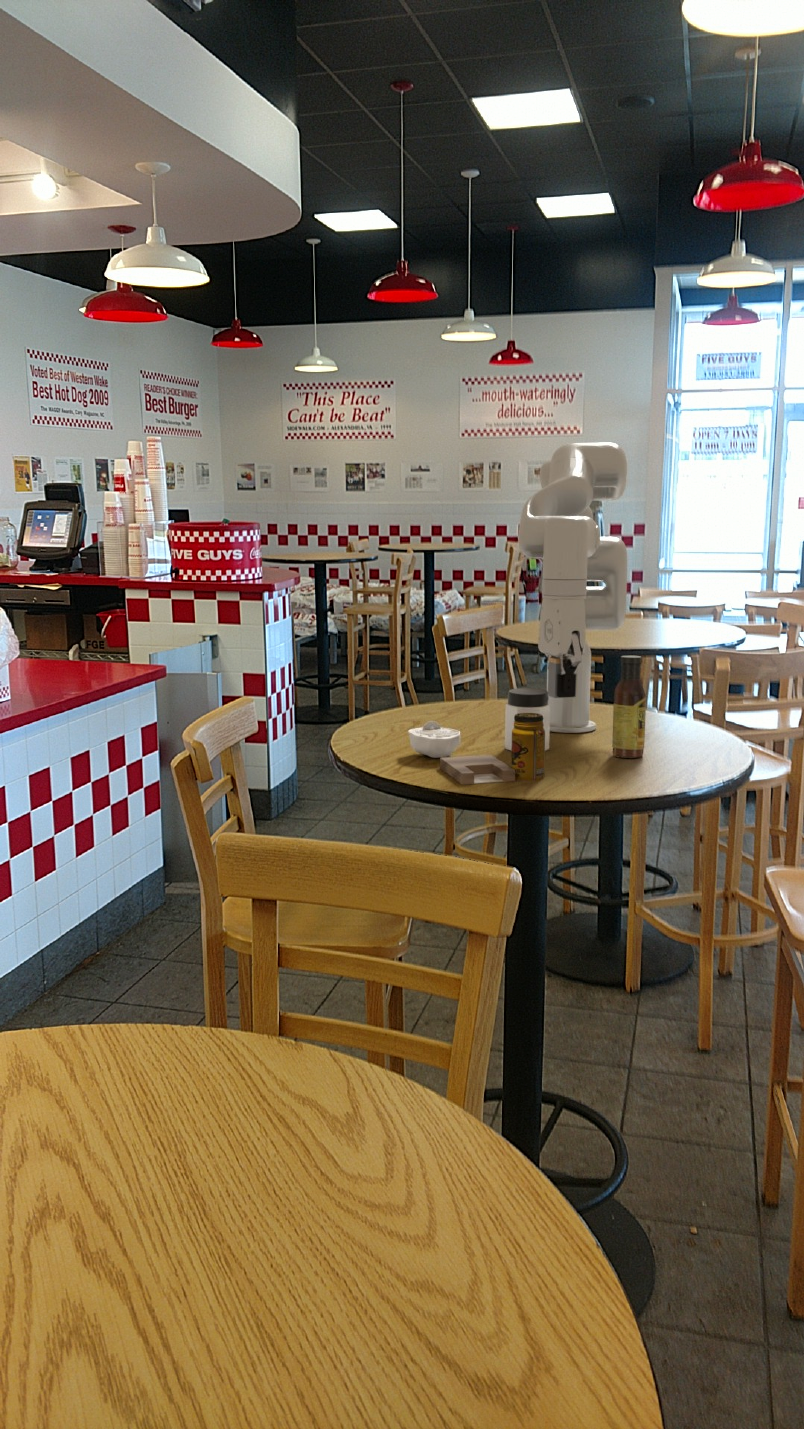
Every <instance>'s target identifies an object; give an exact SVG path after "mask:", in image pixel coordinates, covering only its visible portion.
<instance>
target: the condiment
mask: <svg viewBox="0 0 804 1429" xmlns="http://www.w3.org/2000/svg"><path fill="white" fill-rule="evenodd" d="M543 726H544V725H543V716H542V715H541V714H537V713H518V714H516V715H515V716H514V728H513V730H512V750H511V751H510V752H511V755H510V756H511V757H510V759H511V760H510V764H511V765H510V767H511V768H513V769H514V770H515V780H518V781H522V782H523V781H524V782H525V781H526V782H533V781H535V782H536V781H540V780H542V779H544V777H545V761H546V759H545V757H546V755H545V754H546V751H545V730H544V728H543Z"/></svg>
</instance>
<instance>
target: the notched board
mask: <svg viewBox="0 0 804 1429" xmlns="http://www.w3.org/2000/svg"><path fill="white" fill-rule="evenodd" d="M439 759H440V760H439V768H440V769H441V770H442V771H444V773H446V774H447V775H449V776H450V777H451V778H453V779H454V780H455V781H456V782H458V783H459V784H460V785H462V786H463V785H474V784H475V785H476V784H490V783H501V782H502V783H504V782H515V781H516V779H515V770H514V769H513V768H511V765H508V764H506V763H505V762H504V761H502V760H500V759H498V758H497V757H495V756H493V755H492V754H480V755H479V754H477V755H465V756H464V755H461V756H460V755H459V756H447V757H439Z"/></svg>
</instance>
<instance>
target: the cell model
mask: <svg viewBox="0 0 804 1429" xmlns="http://www.w3.org/2000/svg"><path fill="white" fill-rule="evenodd" d="M407 733H408V735H409V743H410V747H411V748H412V749H413V750H414V751H415V752H416V753H418V754H421V755H424V756H428V757H430V758H433V759H436V758H437V759H440V758H445V757H450V756H451V755H453V753H454V752H455V750H456V749H457V748H458V747H459V746H460V745H461V740H462V739H461V731H460V730H457V729H453V728H450V727H443V726H440V724H439V723H438V722H437V721H434V720H430V721H427V722H426V723H424V725H423V726H421V727H416V728H411V729H408V731H407Z"/></svg>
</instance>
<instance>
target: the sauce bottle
mask: <svg viewBox="0 0 804 1429" xmlns="http://www.w3.org/2000/svg"><path fill="white" fill-rule="evenodd" d="M642 662H643V660H642V656H641V655H640V656H639V655H621V656H620V666H621V667H620V669H621V670H620V680H619V681H618V683H617V685H616V686H615V689H614V698H613V699H614V701H613V710H612V711H613V715H612V743H611V744H612V746H611V747H612V754H613V756H615V757H616V758H621V759H625V758H626V759H635V758H636V759H637V758H641V757H643V755H644V749H645V740H646V739H645V737H646V736H645V735H646V734H645V733H646V711H647V710H646V706H647V695H646V692H645V689H644V686H643V682H642V679H641V666H642V664H643V663H642Z"/></svg>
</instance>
